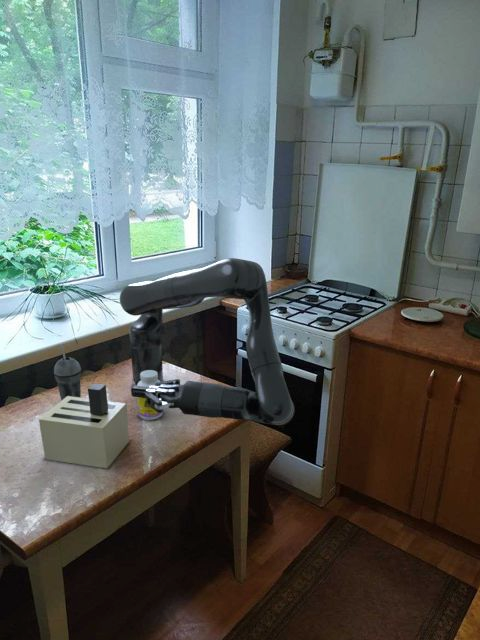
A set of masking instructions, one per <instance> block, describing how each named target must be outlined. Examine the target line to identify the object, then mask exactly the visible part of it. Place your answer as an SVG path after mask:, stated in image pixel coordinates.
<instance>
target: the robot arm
mask: <svg viewBox="0 0 480 640" xmlns="http://www.w3.org/2000/svg"><path fill="white" fill-rule="evenodd" d="M266 279H267V278H266V273H265V271H264V269H263V267H262V266H261V265H260V264H259V263H258V262H256V261H252V260H247V259H242V258H235V257H229V258H224V259H222V260H219V261H217V262H215V263H211V264H209V265H207V266H205V267H202V268H196V269H195V268H194V269H190V270H185V271H181V272H180V271H179V272H176V273H172V274H169V275H166V276H164V277H160V278H158V279H156V280H146V281H140V282H135V283H130V284H128V285H126V286H124V287H123V288H122V290H121V292H120V294H119V304H120V306H121V308H122V309H123V311H124V312H125V313H126V314H128V315H130V316H135V317H137V316H139V317H138V318H137V319H136V320H135V321H134V322H132V323H131V324H130V325H129V328H128V331H129V344H130V357H131V371H132V378H131V383H132V387H131V390H130V391H131V392H130V395H131V396H132V397H133V398H138V397H140V398H146V404H147V405H148V406H150V407H151V408H152V409H154V410H155V411H156V412H158V413H162V412H163V413H164V409H167V408H169V409H179V410H180V411H181V413H182V414H184V415H189V416H198V417H204V418H222V419H230V420H241V421H243V420H244V421H251V422H256V423H261V424H267V425H273V426H283V425H287V424H288V423H290V422H291V421H292V420H293V418H294V416H295V411H296V407H295V404H294V402H293V400H292V398H291V395H290V392H289V389H288V386H287V383H286V380H285V377H284V369H283V364H282V360H281V357H280V354H279V350H278V347H277V343H276V339H275V335H274V329H273V324H272V316H271V306H270V300H269V292H268V284H267V283H268V282H267V280H266ZM207 298H226V299H235V300H244V302H245V304H246V307H247V311H248V314H249V324H248V325H249V326H248V331H247V335H246V341H245V353H246V358H247V361H248V362H247V363H248V365H249V370H250V373H251V376H252V379H253V381H254V386H255V391H252V390H250V389H248V388H245V387H244V388H243V387H238V386H237V387H236V386H228V385H223V384H219V383H212V382H211V383H210V382H203V381H194V380H187V381H186V382H185V383H183V384H181V380H180V378H175V379H170V380H164V371H163V370H164V369H163V349H162V327H163V320H164V319H163V316H164V315H163V313H164V311H163V310H174V309H175V310H177V309H185V308H190V307H191V308H192V307H195V306H197V305H200V304H201V303H202V302H203V301H204V300H205V299H207ZM146 370H154V371H156V372H157V373H158V378H157V379H158V380H159V381H160V382H158V383H155V386H149V387H145V386H137V384H138V382H139V381H141V378H140V373H141V372H143V371H146Z"/></svg>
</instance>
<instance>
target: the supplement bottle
mask: <svg viewBox="0 0 480 640" xmlns="http://www.w3.org/2000/svg"><path fill="white" fill-rule="evenodd" d="M140 378H141V381H139V382H138V384H137V386H145V387H149V386H155V383H158V382H160V381H159V380H158V379H157V378H158V373H157V372H156V371H154V370H146V371H143V372H141V373H140ZM137 406H138V407H137V408H138V409H137V410H138V416H139V417H140V418H141V419H143V420H146V421H154V420H156V419H159V418H161V417H162V415H163V413H164V411H163V412H162V413H158V412H156V411H155V410H154V409H152V408H151V407H150V406H148V405H147V404H146V398H140V397H137Z"/></svg>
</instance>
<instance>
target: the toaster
mask: <svg viewBox="0 0 480 640" xmlns="http://www.w3.org/2000/svg"><path fill="white" fill-rule="evenodd" d="M107 403H108V411H107V412H106V413H105V414H104V415H103V416H99V415H91V414H90V405H89V398H87V397H86V398H85V397H81V398H79V397H71V396H67V397H65V398H64V399H63V400H62V401H59V402H58V403H57V404H55V405H54V406H53V407H52V408H50V410H48V411H47V412H46V413H44V414H43V415H42V416H40V418H39V419H38V424H39V429H40V435H41V442H42V449H43V454H44V455H43V456H44V459H45V460H47V461H55V462H61V463H67V464H75V465H80V466H87V467H88V466H89V467H94V468H102V469H108V468H109V467H110V466H111V465H112V463H114V461H115V460H116V459H117V457H119V455H120V454H121V452H122V451H123V450H124V449H125V447H126V446H127V445H128V444H129V443H130V434H129V421H128V419H129V418H128V408H127V403H126V402H117V401H110V400H107Z"/></svg>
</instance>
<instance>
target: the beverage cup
mask: <svg viewBox="0 0 480 640" xmlns="http://www.w3.org/2000/svg"><path fill="white" fill-rule="evenodd" d="M60 347H61V352H62V358H60V359H59V360H57V362H56V363H55V365H54V367H53V376H54V378H55V381H56V384H57V388H58V392H59V397H60V400H61V401H62V400H63V399H64V398H65V397H67V396H71V397H79V398H82V395H81V393H82V392H81V391H82V389H81V378H82V368H81V364H80V363H79V361H77V360H76V359H75V358H74V357H71V356H66V353H65V349H64V344H61V345H60ZM61 401H60V402H61Z"/></svg>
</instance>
